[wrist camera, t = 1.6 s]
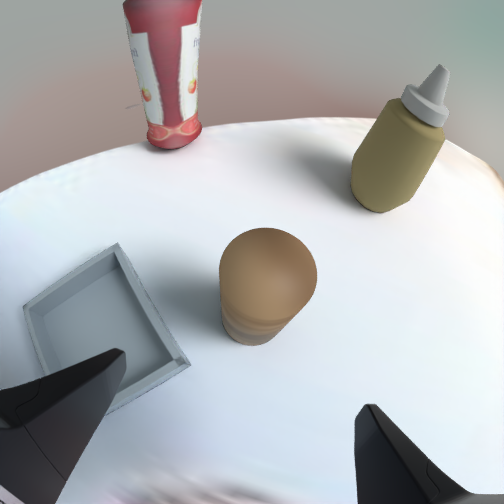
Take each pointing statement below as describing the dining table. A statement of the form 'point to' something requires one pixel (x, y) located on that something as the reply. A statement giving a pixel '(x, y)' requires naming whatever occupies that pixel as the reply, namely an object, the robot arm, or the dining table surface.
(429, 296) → the dining table surface
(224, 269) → the walnut cylinder
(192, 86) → the liquor
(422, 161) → the squeeze bottle
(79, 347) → the bin
